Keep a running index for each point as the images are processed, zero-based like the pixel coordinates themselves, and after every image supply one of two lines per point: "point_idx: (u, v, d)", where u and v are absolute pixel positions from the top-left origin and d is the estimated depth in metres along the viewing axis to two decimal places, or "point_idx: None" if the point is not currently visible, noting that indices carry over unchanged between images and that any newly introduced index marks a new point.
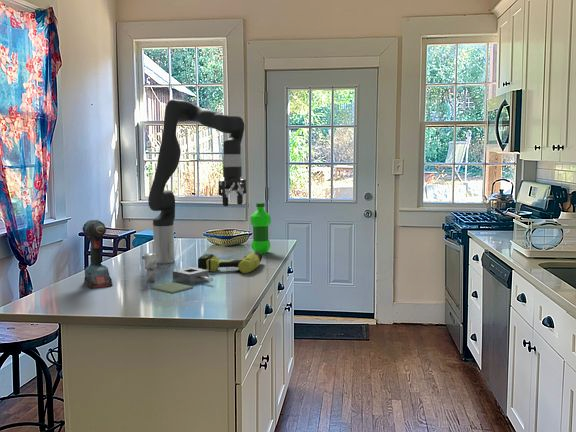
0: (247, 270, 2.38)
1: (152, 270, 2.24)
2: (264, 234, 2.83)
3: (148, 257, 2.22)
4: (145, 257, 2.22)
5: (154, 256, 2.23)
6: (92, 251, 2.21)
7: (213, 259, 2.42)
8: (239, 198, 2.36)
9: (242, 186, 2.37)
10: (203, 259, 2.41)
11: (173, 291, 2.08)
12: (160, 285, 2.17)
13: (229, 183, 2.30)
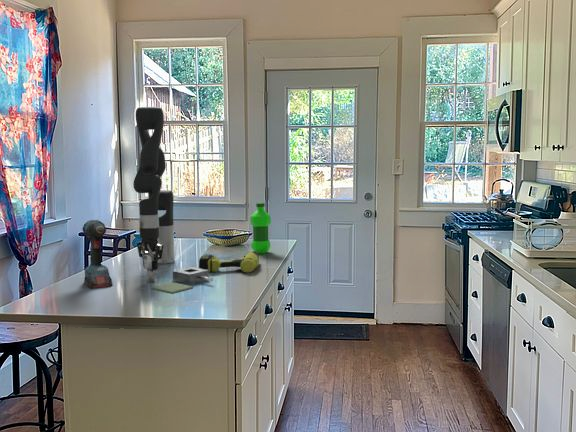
0: (250, 269, 2.40)
1: (152, 270, 2.24)
2: (264, 234, 2.83)
3: (148, 257, 2.22)
4: (145, 257, 2.22)
5: (154, 256, 2.23)
6: (92, 251, 2.21)
7: (214, 259, 2.41)
8: None
9: (142, 248, 2.27)
10: (204, 259, 2.40)
11: (173, 291, 2.08)
12: (160, 285, 2.17)
13: None
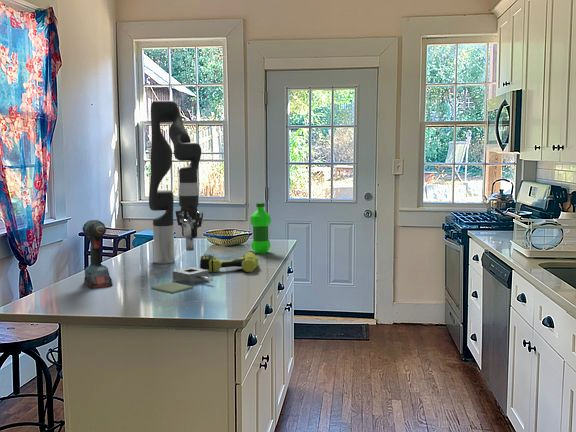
0: (251, 269, 2.41)
1: (191, 238, 2.24)
2: (264, 234, 2.83)
3: (187, 224, 2.22)
4: (185, 225, 2.22)
5: None
6: (92, 251, 2.21)
7: (215, 259, 2.41)
8: None
9: (181, 217, 2.28)
10: (206, 260, 2.39)
11: (173, 291, 2.08)
12: (160, 285, 2.17)
13: None
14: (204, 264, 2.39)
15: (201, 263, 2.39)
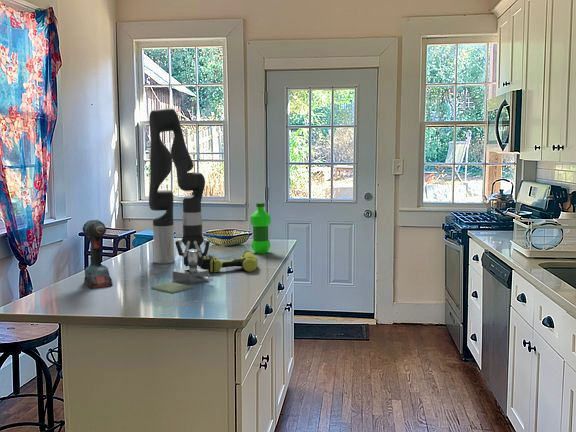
0: (253, 268, 2.42)
1: (196, 267, 2.27)
2: (264, 234, 2.83)
3: (195, 254, 2.24)
4: (193, 254, 2.24)
5: None
6: (92, 251, 2.21)
7: (216, 260, 2.41)
8: None
9: (180, 247, 2.26)
10: (207, 260, 2.39)
11: (173, 291, 2.08)
12: (160, 285, 2.17)
13: None
14: (205, 264, 2.38)
15: None
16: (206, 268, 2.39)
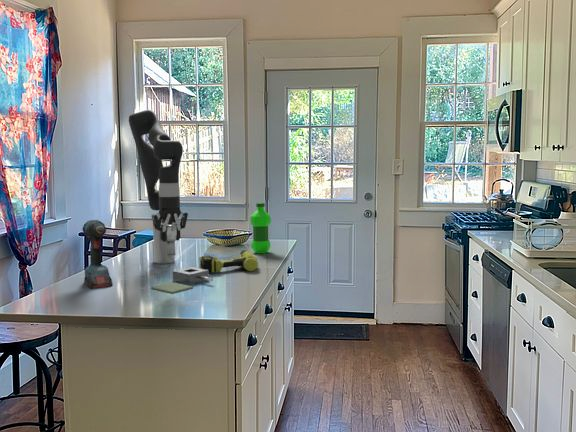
0: (254, 268, 2.43)
1: None
2: (264, 234, 2.83)
3: (175, 227, 2.11)
4: None
5: None
6: (92, 251, 2.21)
7: (217, 260, 2.41)
8: None
9: None
10: (208, 260, 2.38)
11: (173, 291, 2.08)
12: (160, 285, 2.17)
13: None
14: (207, 265, 2.38)
15: (204, 264, 2.37)
16: (208, 268, 2.38)
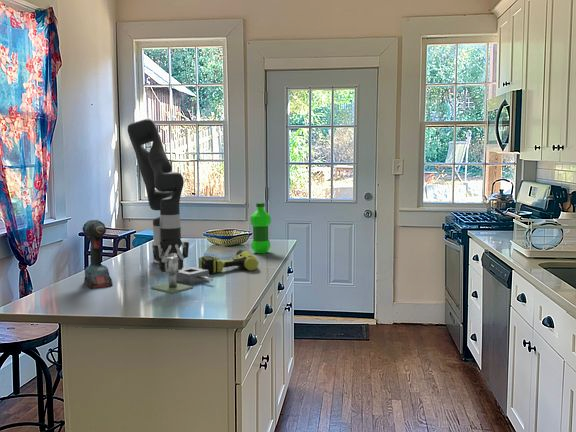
0: (254, 267, 2.44)
1: None
2: (264, 234, 2.83)
3: (177, 260, 2.13)
4: None
5: None
6: (92, 251, 2.21)
7: (219, 260, 2.40)
8: None
9: None
10: (210, 261, 2.37)
11: (173, 291, 2.08)
12: (160, 285, 2.17)
13: None
14: (209, 265, 2.37)
15: (206, 264, 2.37)
16: (210, 269, 2.37)
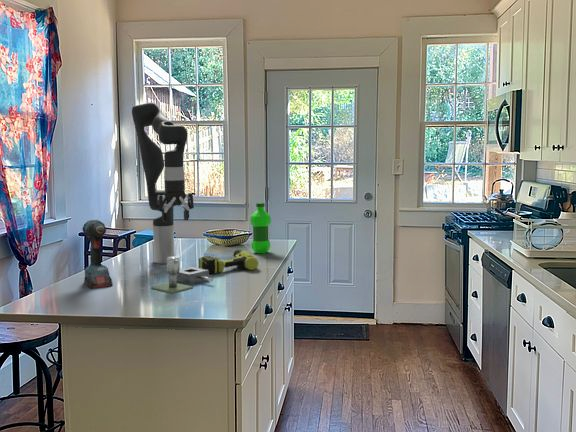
0: (255, 266, 2.45)
1: None
2: (264, 234, 2.83)
3: (178, 260, 2.12)
4: None
5: None
6: (92, 251, 2.21)
7: (220, 260, 2.40)
8: None
9: None
10: (212, 261, 2.37)
11: (173, 291, 2.08)
12: (160, 285, 2.17)
13: None
14: (211, 265, 2.37)
15: (208, 264, 2.36)
16: (211, 269, 2.37)
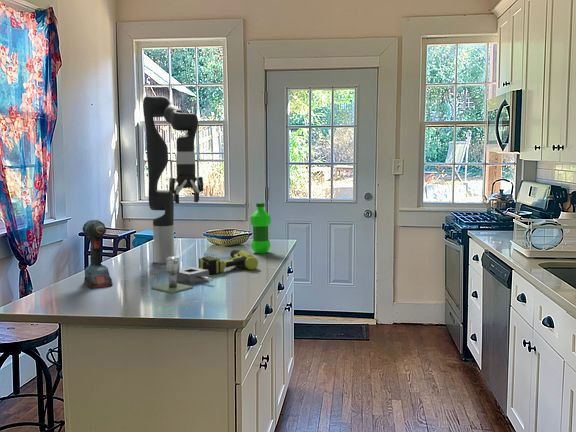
0: (255, 266, 2.46)
1: (176, 274, 2.14)
2: (264, 234, 2.83)
3: (178, 260, 2.12)
4: None
5: None
6: (92, 251, 2.21)
7: (221, 260, 2.40)
8: None
9: None
10: (213, 261, 2.37)
11: (173, 291, 2.08)
12: (160, 285, 2.17)
13: None
14: (212, 265, 2.36)
15: (209, 265, 2.36)
16: (213, 269, 2.37)
